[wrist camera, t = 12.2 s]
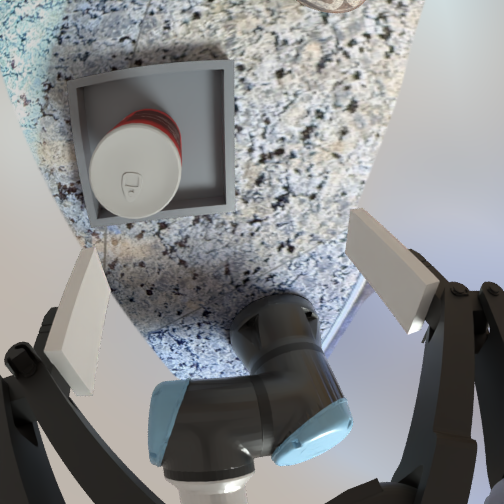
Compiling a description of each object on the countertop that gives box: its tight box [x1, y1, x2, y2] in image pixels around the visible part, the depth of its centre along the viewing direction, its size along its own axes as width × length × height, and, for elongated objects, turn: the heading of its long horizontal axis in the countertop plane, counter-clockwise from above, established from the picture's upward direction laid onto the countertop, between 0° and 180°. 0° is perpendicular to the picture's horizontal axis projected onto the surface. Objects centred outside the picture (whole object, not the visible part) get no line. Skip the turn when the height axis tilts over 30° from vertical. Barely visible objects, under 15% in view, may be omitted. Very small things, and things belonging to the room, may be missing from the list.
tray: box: [67, 60, 235, 228], centre depth 31 cm, size 17×17×3 cm
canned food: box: [89, 109, 182, 219], centre depth 27 cm, size 8×8×11 cm
